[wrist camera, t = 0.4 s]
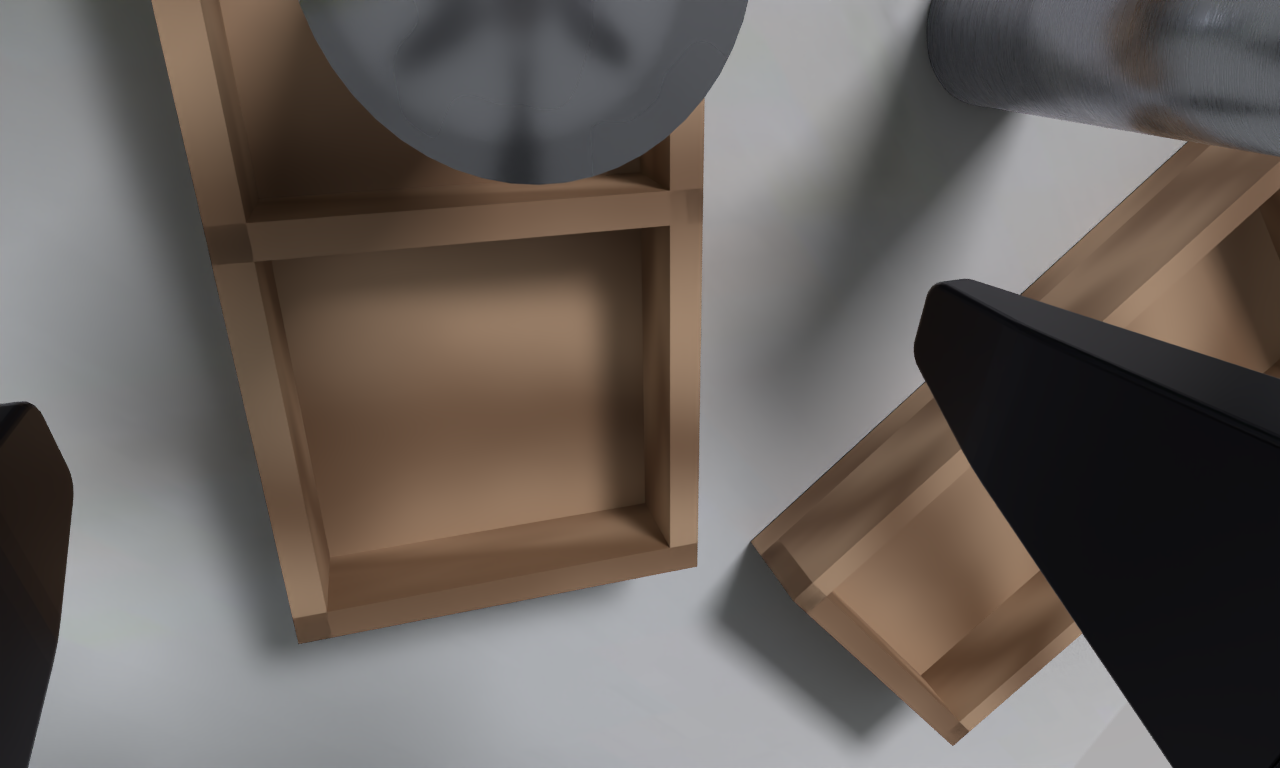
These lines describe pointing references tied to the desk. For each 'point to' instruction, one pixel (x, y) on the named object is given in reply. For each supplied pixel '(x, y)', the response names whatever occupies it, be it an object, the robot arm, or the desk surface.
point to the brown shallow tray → (439, 340)
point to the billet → (1120, 64)
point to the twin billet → (528, 76)
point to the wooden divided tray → (954, 496)
